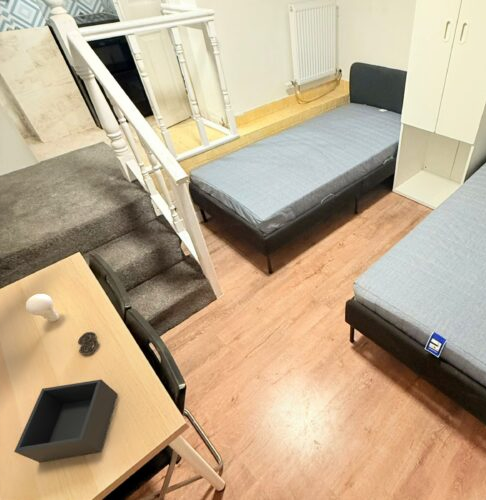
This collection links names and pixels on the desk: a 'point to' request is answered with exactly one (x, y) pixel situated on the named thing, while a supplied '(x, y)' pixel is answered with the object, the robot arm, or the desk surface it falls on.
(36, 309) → the lightbulb
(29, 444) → the bin
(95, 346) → the corroded twin loop
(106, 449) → the desk surface
